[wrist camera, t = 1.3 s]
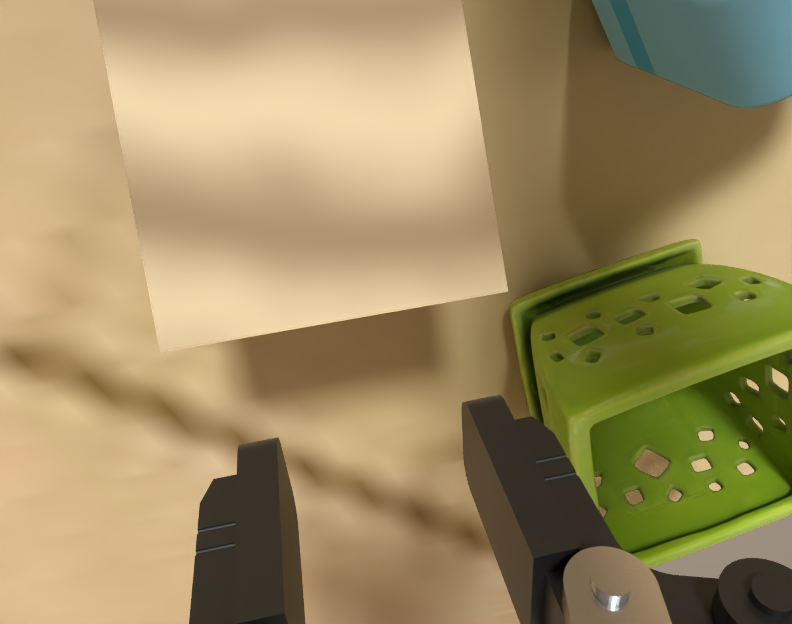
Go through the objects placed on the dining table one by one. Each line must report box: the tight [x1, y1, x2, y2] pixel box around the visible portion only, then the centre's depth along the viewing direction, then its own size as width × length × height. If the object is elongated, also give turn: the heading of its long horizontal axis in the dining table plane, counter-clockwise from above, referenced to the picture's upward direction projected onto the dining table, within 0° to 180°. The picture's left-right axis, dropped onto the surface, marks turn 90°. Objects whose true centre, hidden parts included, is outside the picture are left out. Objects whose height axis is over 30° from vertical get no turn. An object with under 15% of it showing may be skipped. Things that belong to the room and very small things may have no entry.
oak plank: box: [93, 0, 508, 353], centre depth 22 cm, size 22×12×2 cm, turn 5°
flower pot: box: [510, 239, 792, 568], centre depth 37 cm, size 14×14×13 cm
